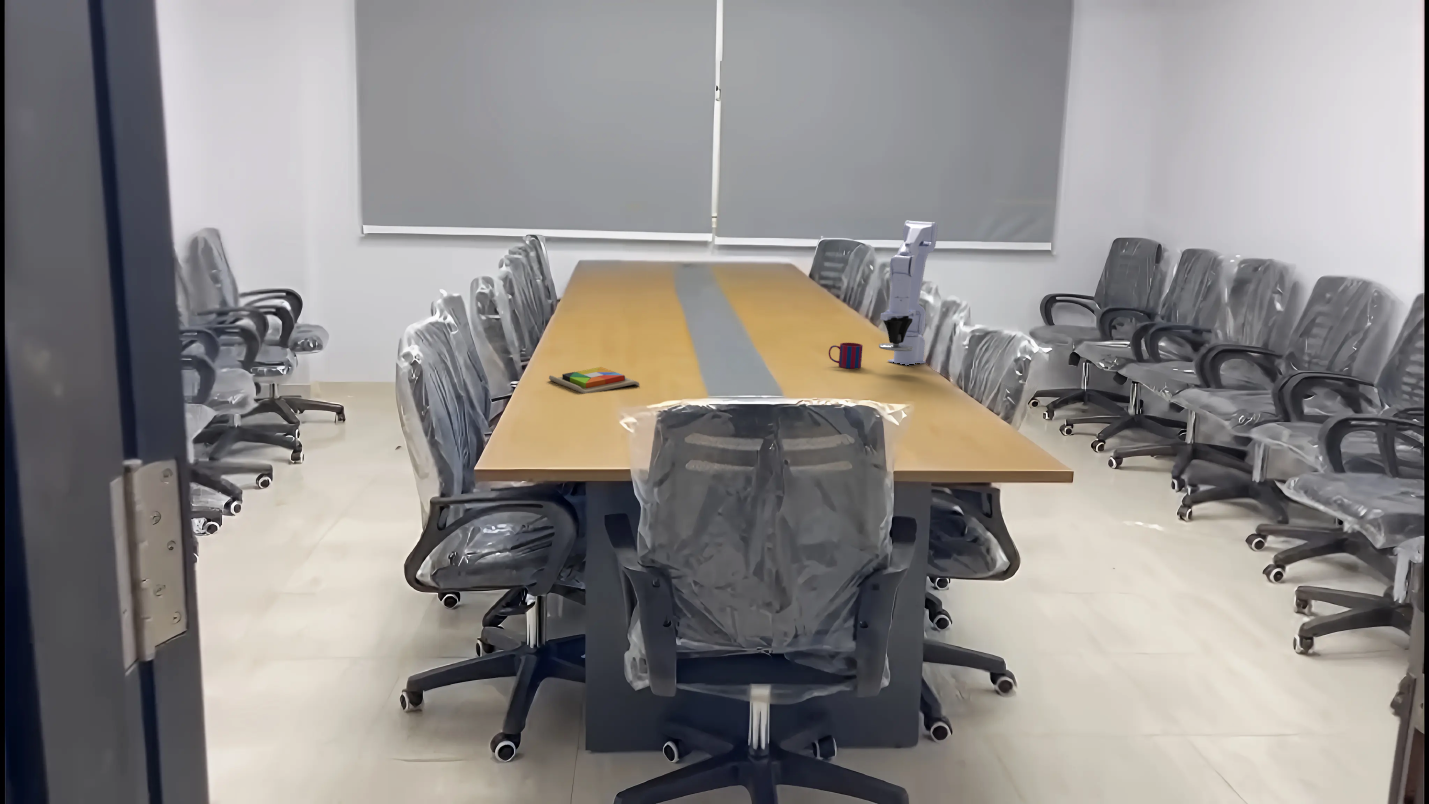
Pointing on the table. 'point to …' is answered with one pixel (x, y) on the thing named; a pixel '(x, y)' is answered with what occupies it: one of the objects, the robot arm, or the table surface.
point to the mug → (849, 355)
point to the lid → (896, 345)
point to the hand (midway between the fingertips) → (896, 342)
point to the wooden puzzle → (593, 380)
